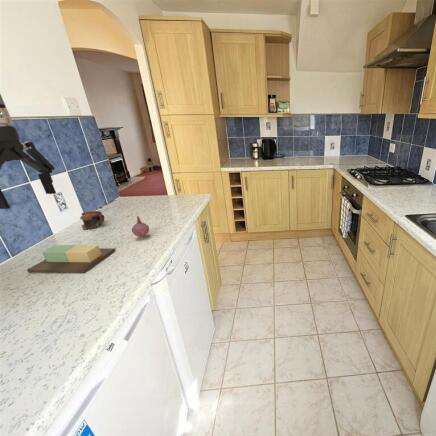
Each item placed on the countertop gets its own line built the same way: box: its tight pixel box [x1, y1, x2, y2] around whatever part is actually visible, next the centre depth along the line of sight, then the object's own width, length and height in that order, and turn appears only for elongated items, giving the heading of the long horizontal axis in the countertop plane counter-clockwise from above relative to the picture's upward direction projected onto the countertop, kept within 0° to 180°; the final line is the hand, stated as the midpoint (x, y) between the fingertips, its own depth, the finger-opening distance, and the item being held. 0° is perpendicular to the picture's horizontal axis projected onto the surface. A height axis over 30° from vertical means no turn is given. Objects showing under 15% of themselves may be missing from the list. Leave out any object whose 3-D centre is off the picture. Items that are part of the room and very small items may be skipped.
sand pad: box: [64, 244, 102, 262], centre depth 85 cm, size 8×5×4 cm, turn 87°
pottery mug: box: [79, 210, 105, 231], centre depth 115 cm, size 12×10×8 cm
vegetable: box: [131, 215, 150, 238], centre depth 100 cm, size 6×6×10 cm
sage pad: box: [41, 244, 77, 262], centre depth 86 cm, size 8×5×4 cm, turn 87°
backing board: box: [26, 247, 116, 274], centre depth 87 cm, size 20×14×1 cm
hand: (29, 200), depth 74 cm, fingers open, 13 cm apart
